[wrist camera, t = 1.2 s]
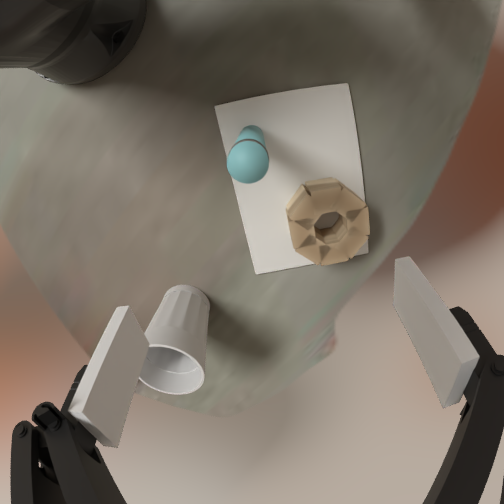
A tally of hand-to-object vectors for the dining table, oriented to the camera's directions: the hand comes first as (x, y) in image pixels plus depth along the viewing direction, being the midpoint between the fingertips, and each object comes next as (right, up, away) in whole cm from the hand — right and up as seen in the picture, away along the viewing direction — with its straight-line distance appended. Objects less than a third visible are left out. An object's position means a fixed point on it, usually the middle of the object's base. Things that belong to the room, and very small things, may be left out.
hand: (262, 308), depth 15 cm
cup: (-9, -4, +27) cm, 28 cm away
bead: (+7, +7, +20) cm, 22 cm away
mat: (+5, +10, +19) cm, 22 cm away
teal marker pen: (-1, +14, +16) cm, 22 cm away
